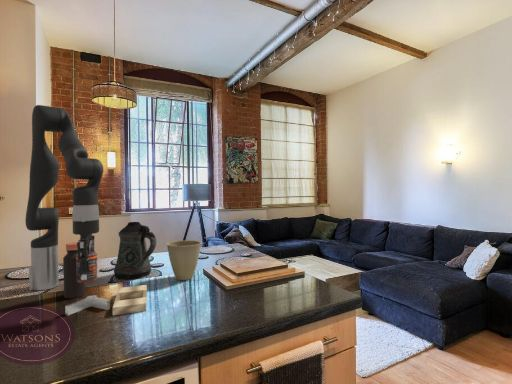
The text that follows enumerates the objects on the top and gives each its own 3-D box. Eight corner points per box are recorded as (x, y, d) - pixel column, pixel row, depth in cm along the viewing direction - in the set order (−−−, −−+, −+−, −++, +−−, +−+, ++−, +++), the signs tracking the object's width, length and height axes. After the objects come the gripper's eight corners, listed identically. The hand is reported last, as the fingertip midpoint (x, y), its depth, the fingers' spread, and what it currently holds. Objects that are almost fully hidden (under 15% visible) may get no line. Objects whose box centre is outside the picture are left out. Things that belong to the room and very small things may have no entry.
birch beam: (112, 315, 93) (112, 307, 93) (119, 294, 112) (119, 287, 112) (146, 310, 96) (145, 303, 96) (146, 291, 115) (146, 284, 115)
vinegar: (88, 293, 113) (87, 242, 112) (71, 300, 106) (70, 245, 106) (77, 291, 115) (76, 241, 115) (59, 297, 109) (58, 244, 109)
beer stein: (118, 271, 144) (117, 221, 143) (159, 268, 148) (158, 219, 148) (109, 281, 127) (108, 225, 127) (156, 278, 132) (155, 223, 132)
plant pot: (197, 283, 124) (196, 246, 124) (162, 283, 124) (162, 246, 124) (204, 273, 139) (203, 239, 139) (173, 273, 139) (172, 240, 139)
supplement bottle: (87, 284, 92) (87, 248, 92) (71, 283, 93) (71, 247, 93) (101, 278, 98) (101, 244, 97) (86, 277, 99) (85, 244, 99)
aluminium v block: (64, 315, 93) (64, 306, 93) (70, 306, 100) (70, 298, 100) (109, 309, 97) (109, 300, 97) (112, 301, 105) (112, 293, 105)
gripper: (78, 217, 100) (78, 265, 101) (66, 221, 87) (67, 277, 87) (102, 216, 103) (103, 263, 103) (94, 220, 90) (95, 274, 90)
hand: (86, 269), depth 95 cm, fingers closed on supplement bottle, 6 cm apart
